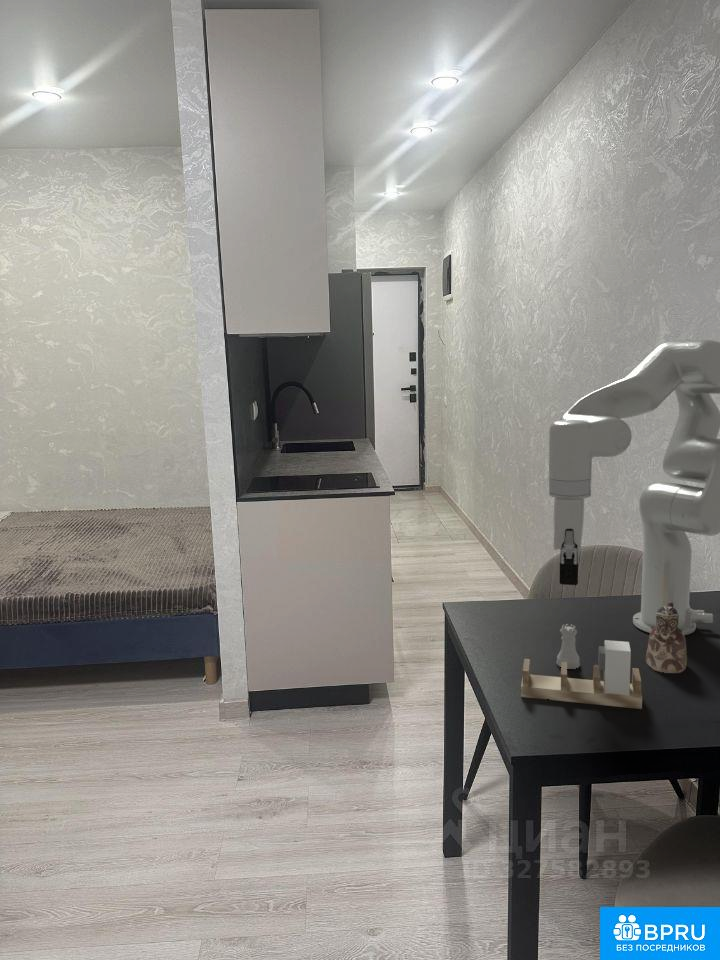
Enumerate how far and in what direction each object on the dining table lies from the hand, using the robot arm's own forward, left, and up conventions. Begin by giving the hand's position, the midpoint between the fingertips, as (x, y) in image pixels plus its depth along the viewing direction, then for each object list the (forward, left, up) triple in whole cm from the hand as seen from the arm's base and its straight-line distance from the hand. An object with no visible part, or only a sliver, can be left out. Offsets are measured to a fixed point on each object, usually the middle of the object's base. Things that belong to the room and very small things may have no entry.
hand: (568, 575), depth 131 cm
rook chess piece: (0, 0, -18) cm, 18 cm away
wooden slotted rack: (-2, +12, -18) cm, 22 cm away
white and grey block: (-8, +12, -16) cm, 22 cm away
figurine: (-18, -4, -18) cm, 26 cm away
